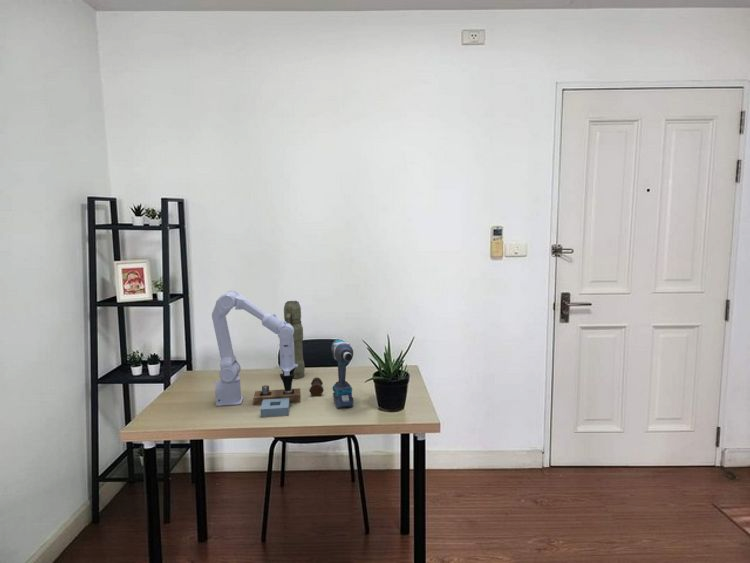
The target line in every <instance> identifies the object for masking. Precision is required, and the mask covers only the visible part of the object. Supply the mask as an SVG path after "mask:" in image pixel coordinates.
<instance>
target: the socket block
mask: <svg viewBox="0 0 750 563" xmlns="http://www.w3.org/2000/svg"><path fill="white" fill-rule="evenodd" d="M290 404H291V403H289V398H281V399H265V400H263V401H262V405H260V411H259V412H260V418H267V417H268V418H269V417H270V418H271V417H284V416H285V417H286V416H289V415H290V414H289V413H290V406H291V405H290Z"/></svg>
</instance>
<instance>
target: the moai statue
mask: <svg viewBox="0 0 750 563" xmlns="http://www.w3.org/2000/svg"><path fill="white" fill-rule="evenodd" d="M283 319H284V321H286V322H287V323H290V324H291V325H292V326H293V328H294V334H293V339H294V341H293V342H294V357H295V364H298V367H295V370H294V372H293V374H295V375H294V378H293V379H295V380H300V379H303V378H304V377H305V369H306V368H305V361H304V352H303V340H304V327H303V324H302V308H301V305H300V302H299V301H297V300H289V301H286V302H285V303H284V306H283Z"/></svg>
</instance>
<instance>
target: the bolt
mask: <svg viewBox="0 0 750 563" xmlns="http://www.w3.org/2000/svg"><path fill="white" fill-rule="evenodd" d="M323 383H324V382H323V380H322V379H321V378H320V377H318V376H317V377H314V378H312V380H311V383H310V385H311V386H310V388H309V390H308V391H309V393H310V394H311V396H312V397H321V396H322V394H323V392H324V388H323Z"/></svg>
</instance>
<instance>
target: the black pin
mask: <svg viewBox="0 0 750 563" xmlns="http://www.w3.org/2000/svg"><path fill="white" fill-rule="evenodd" d="M269 390H270V386H269V385H266V384H265V385H262V386H261V391H262V396H268V395H269Z"/></svg>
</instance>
